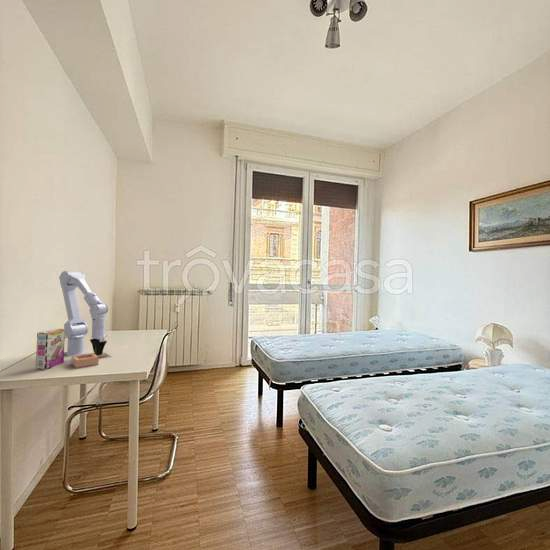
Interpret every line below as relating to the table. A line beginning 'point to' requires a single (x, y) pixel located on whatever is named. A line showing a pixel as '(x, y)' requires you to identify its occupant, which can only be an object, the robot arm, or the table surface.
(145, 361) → the table surface
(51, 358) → the candy bar box
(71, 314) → the robot arm
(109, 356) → the mat
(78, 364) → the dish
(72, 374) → the table surface
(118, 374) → the table surface
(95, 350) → the lid
